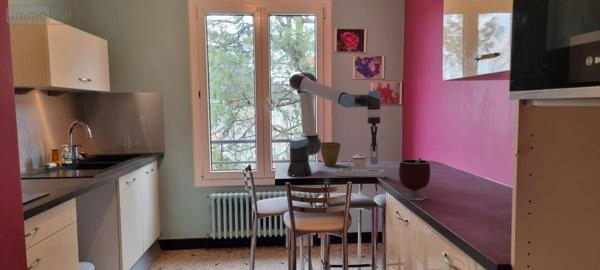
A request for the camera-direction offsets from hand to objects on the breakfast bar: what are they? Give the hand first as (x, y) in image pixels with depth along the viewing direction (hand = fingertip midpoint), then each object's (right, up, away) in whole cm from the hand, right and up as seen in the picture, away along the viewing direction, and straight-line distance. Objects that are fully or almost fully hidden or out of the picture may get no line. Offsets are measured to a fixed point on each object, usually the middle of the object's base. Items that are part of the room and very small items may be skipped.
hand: (374, 156), depth 223 cm
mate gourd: (+9, -17, -49) cm, 53 cm away
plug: (0, -5, 0) cm, 5 cm away
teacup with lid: (-7, -11, +23) cm, 27 cm away
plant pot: (-22, -9, +47) cm, 53 cm away
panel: (-8, -13, +3) cm, 15 cm away
